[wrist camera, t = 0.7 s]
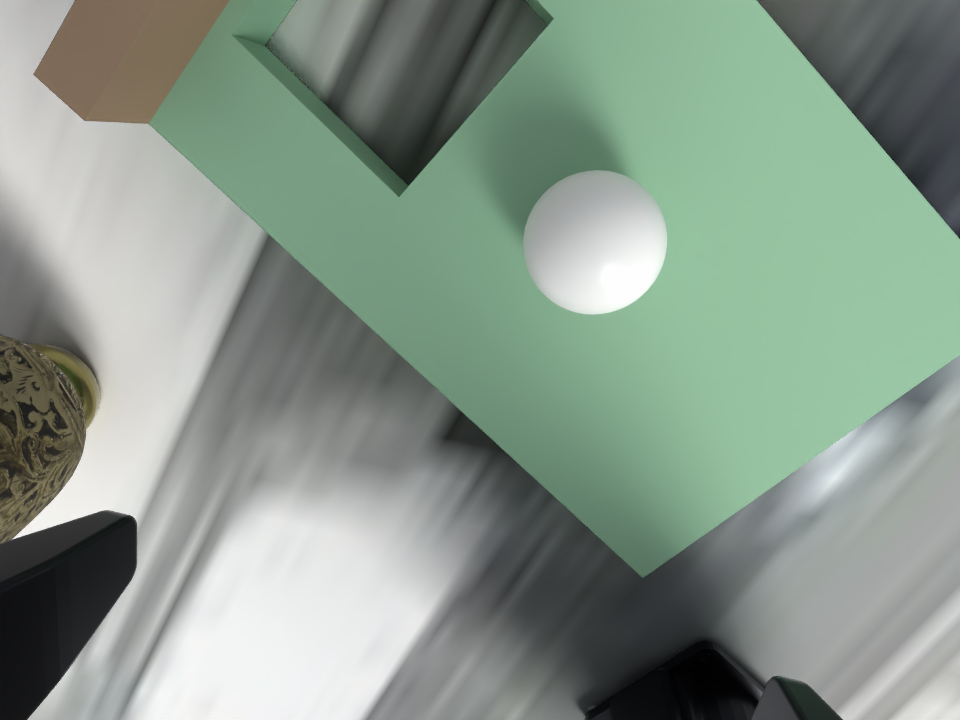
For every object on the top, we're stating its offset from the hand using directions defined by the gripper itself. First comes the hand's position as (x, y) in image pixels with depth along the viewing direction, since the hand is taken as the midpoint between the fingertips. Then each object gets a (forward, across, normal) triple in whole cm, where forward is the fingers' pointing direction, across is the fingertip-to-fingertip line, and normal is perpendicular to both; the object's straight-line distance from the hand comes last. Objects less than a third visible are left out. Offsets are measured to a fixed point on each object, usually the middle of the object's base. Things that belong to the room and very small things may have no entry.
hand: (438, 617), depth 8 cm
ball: (+9, -2, -4) cm, 10 cm away
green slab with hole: (+12, 0, -5) cm, 14 cm away
